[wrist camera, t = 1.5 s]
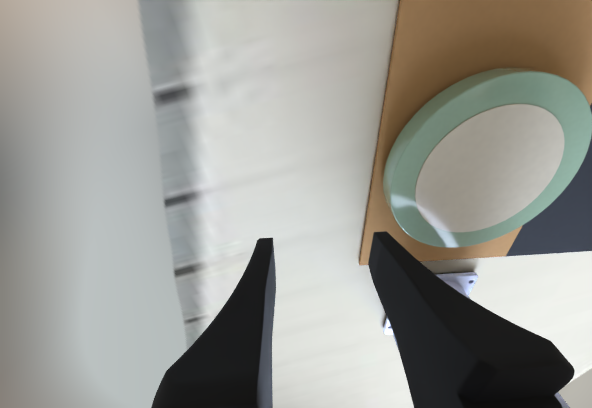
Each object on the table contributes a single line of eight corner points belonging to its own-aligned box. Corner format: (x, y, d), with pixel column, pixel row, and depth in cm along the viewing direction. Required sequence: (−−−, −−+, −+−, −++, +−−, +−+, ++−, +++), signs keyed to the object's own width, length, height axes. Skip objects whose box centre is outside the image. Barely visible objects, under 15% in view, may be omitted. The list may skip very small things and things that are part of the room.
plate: (516, 227, 24) (534, 243, 23) (370, 236, 24) (377, 253, 22) (607, 62, 17) (644, 68, 15) (399, 69, 16) (413, 75, 15)
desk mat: (679, 243, 27) (683, 245, 27) (358, 263, 26) (359, 265, 26) (940, -15, 16) (950, -15, 16) (400, -5, 15) (402, -5, 14)
